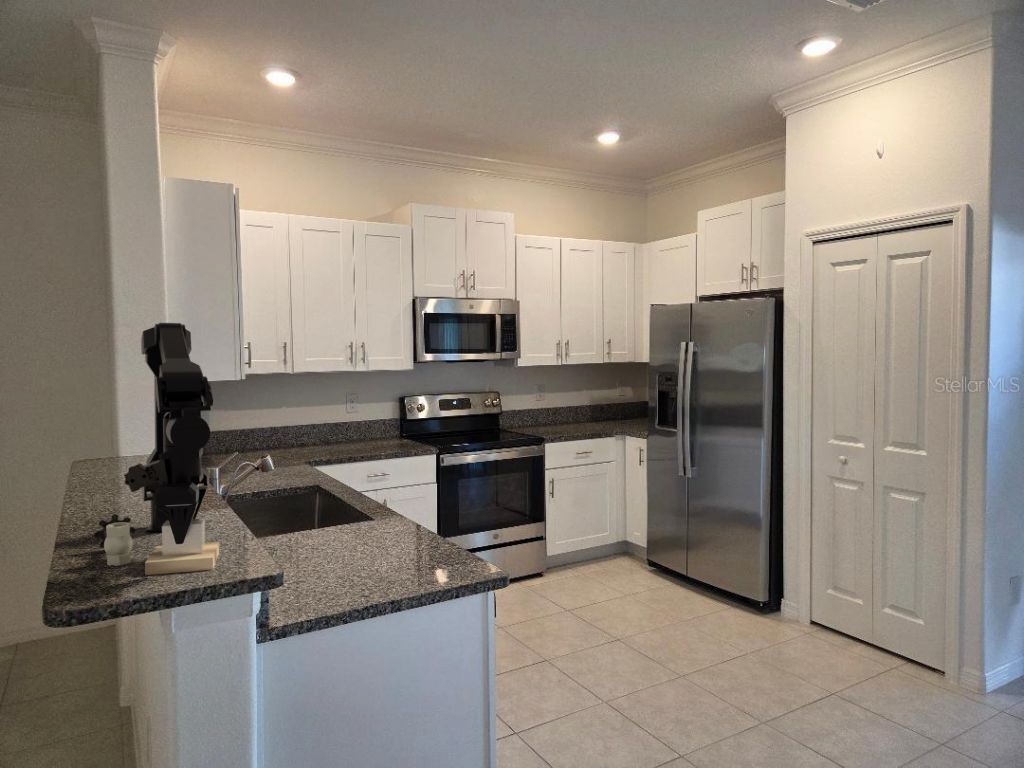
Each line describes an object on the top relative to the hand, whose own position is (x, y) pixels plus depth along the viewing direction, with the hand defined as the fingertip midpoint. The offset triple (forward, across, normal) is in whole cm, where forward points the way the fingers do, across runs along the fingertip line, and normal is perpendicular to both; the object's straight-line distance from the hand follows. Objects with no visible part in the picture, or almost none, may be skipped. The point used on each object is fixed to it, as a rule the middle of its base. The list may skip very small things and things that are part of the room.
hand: (183, 536), depth 117 cm
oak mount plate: (+4, 0, 0) cm, 4 cm away
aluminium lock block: (+2, 0, 0) cm, 2 cm away
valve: (+5, -7, -12) cm, 15 cm away
